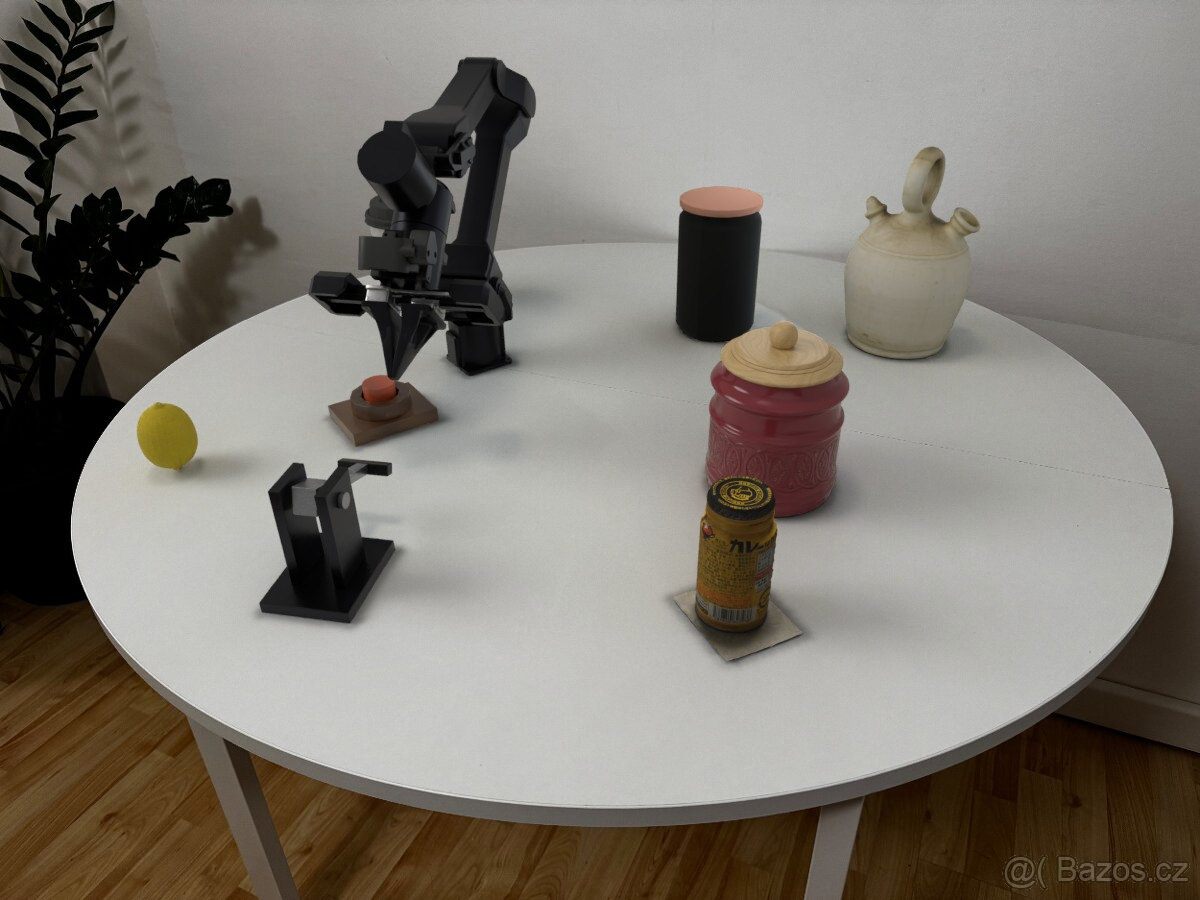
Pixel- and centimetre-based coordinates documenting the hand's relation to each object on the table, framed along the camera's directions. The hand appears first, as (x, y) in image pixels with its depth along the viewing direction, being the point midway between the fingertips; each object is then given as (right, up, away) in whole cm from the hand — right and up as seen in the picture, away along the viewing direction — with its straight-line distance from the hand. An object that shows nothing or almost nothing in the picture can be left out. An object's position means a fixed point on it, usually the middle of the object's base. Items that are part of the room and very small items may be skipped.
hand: (393, 379), depth 89 cm
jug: (+60, +7, +30) cm, 68 cm away
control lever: (-3, -11, -10) cm, 15 cm away
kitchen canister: (+38, -10, +2) cm, 39 cm away
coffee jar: (+36, +10, +34) cm, 51 cm away
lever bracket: (-3, -19, -10) cm, 21 cm away
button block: (-4, -4, +14) cm, 15 cm away
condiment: (+32, -21, -14) cm, 41 cm away
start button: (-4, -1, +13) cm, 13 cm away
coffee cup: (-7, +15, +45) cm, 48 cm away
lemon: (-24, -9, +6) cm, 27 cm away
